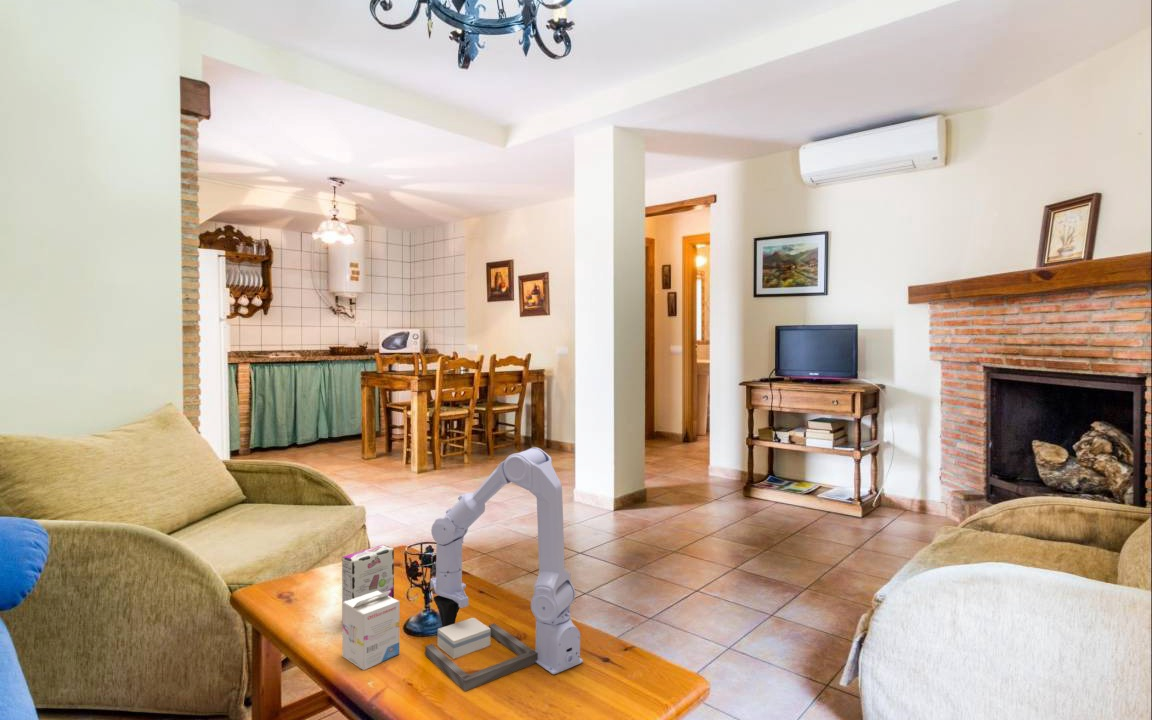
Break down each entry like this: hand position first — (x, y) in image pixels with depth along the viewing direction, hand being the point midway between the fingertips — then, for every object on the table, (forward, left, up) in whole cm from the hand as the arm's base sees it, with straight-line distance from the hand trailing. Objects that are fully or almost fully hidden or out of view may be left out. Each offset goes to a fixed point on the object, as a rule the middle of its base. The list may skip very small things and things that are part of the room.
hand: (448, 627), depth 138 cm
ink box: (+1, +18, -1) cm, 18 cm away
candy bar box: (+17, +12, -1) cm, 21 cm away
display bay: (-15, 0, -1) cm, 15 cm away
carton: (-7, 0, -2) cm, 7 cm away
